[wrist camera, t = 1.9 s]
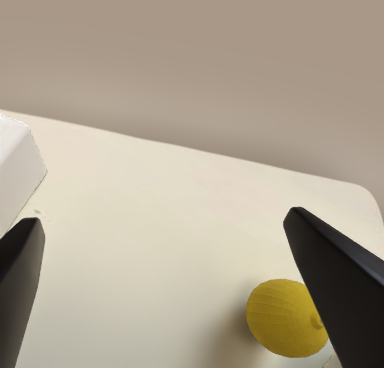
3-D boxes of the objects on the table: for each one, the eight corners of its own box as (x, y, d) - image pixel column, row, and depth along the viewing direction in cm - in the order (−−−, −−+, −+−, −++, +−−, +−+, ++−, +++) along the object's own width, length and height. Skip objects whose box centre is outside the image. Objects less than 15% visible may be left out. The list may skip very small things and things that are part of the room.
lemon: (219, 303, 23) (271, 308, 16) (260, 270, 26) (319, 261, 19) (253, 361, 22) (324, 393, 15) (292, 320, 25) (368, 331, 18)
